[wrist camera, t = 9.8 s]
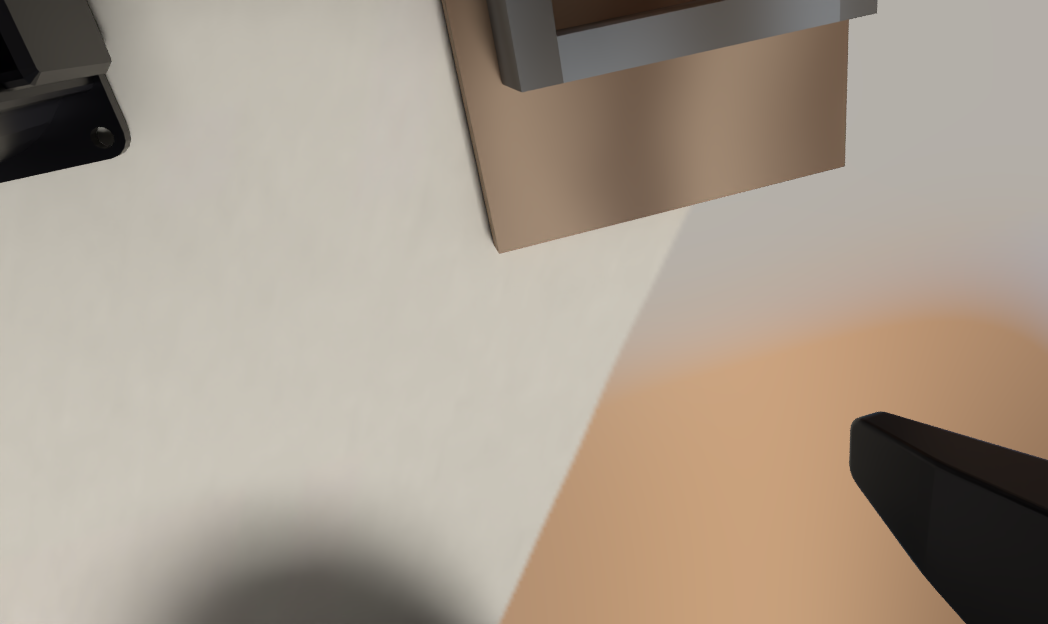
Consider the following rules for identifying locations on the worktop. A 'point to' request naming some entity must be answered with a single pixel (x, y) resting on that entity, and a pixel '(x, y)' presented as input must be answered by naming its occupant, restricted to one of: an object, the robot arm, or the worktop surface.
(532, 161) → the end holder
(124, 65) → the worktop surface
